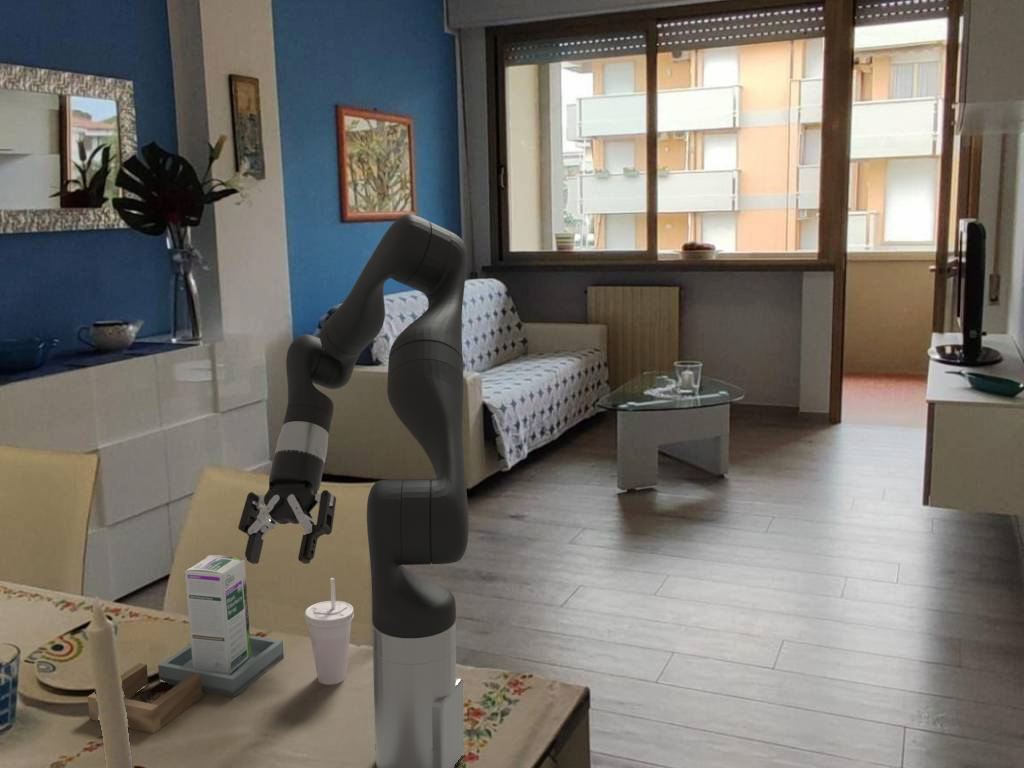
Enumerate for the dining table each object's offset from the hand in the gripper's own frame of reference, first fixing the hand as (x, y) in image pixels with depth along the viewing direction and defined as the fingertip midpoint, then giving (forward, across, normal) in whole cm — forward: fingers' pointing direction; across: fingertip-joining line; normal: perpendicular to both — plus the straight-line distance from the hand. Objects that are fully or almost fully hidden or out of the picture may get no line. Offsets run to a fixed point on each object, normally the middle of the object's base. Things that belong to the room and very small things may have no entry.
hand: (277, 562), depth 139 cm
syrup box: (+15, +4, +2) cm, 16 cm away
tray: (+15, +4, +1) cm, 16 cm away
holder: (+22, +7, +10) cm, 25 cm away
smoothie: (+15, -11, -2) cm, 19 cm away
